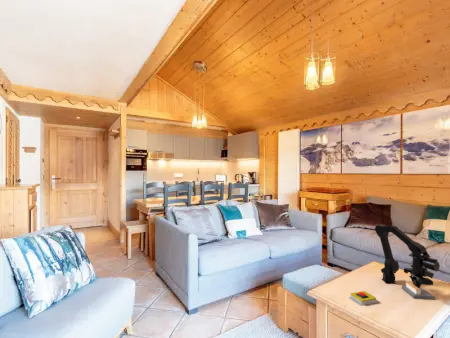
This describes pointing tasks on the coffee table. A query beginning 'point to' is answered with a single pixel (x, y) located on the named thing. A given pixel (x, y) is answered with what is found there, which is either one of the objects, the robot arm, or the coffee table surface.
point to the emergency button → (363, 298)
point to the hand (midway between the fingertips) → (417, 289)
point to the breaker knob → (413, 288)
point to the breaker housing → (423, 295)
